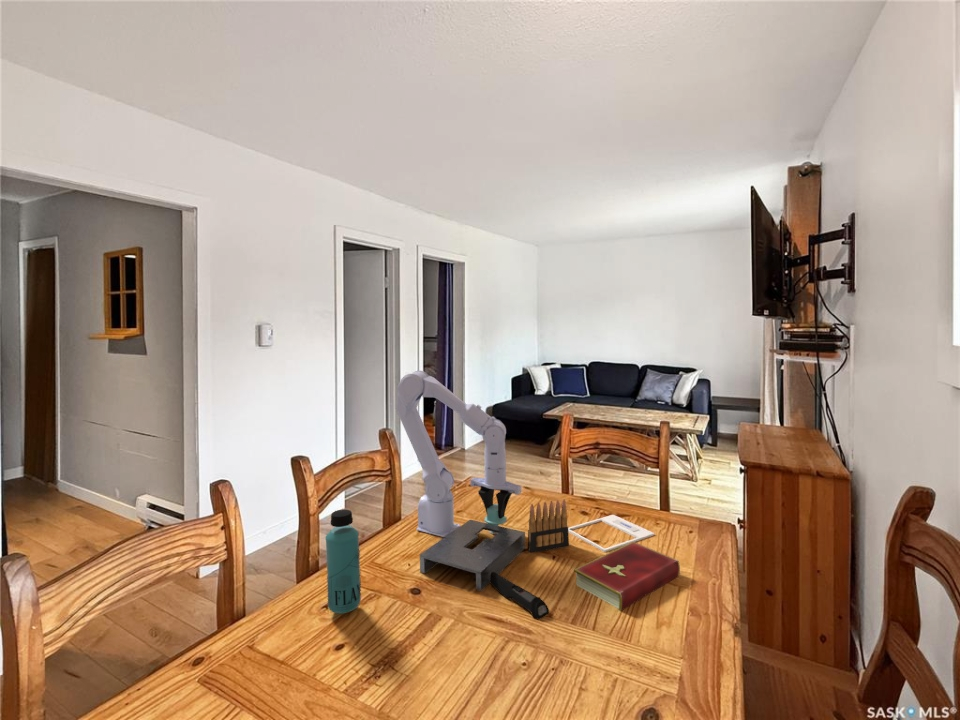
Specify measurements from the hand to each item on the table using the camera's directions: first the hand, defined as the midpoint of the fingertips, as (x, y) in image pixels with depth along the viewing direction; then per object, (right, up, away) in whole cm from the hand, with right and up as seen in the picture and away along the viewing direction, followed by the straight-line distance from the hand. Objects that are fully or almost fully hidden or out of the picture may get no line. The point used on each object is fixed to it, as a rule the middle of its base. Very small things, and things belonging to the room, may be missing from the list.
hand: (495, 515), depth 128 cm
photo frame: (+30, -5, -1) cm, 31 cm away
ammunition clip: (+13, -5, -9) cm, 17 cm away
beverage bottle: (-31, -8, -35) cm, 47 cm away
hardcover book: (+28, -7, -25) cm, 38 cm away
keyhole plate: (-5, -6, -15) cm, 17 cm away
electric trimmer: (+3, -7, -32) cm, 33 cm away
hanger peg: (0, -4, 0) cm, 4 cm away
